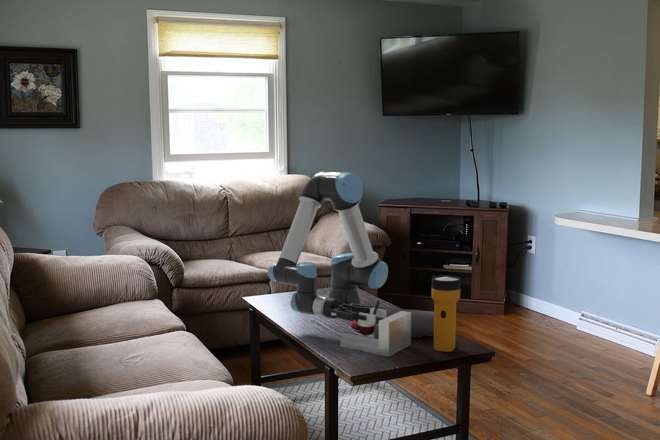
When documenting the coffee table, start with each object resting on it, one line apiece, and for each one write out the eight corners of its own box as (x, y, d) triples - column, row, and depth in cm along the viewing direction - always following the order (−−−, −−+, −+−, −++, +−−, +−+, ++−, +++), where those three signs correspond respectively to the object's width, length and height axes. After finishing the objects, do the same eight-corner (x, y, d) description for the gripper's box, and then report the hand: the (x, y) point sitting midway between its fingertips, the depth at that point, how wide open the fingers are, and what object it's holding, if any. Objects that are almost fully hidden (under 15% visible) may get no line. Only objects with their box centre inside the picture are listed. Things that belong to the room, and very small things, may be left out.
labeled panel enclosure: (363, 335, 258) (363, 304, 257) (410, 344, 247) (411, 312, 245) (340, 346, 245) (340, 314, 244) (388, 356, 234) (388, 322, 232)
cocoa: (355, 337, 244) (354, 305, 242) (354, 331, 250) (353, 300, 248) (381, 336, 244) (380, 304, 242) (380, 330, 250) (379, 299, 248)
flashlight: (462, 275, 242) (457, 281, 233) (461, 345, 245) (456, 354, 236) (435, 273, 245) (428, 278, 236) (433, 342, 249) (427, 351, 240)
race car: (360, 330, 265) (360, 320, 265) (348, 328, 268) (348, 318, 268) (377, 322, 276) (377, 312, 276) (365, 320, 279) (365, 310, 279)
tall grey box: (379, 338, 247) (380, 322, 246) (387, 339, 245) (387, 323, 244) (374, 341, 244) (374, 324, 243) (381, 342, 242) (381, 326, 241)
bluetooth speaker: (439, 333, 260) (439, 308, 258) (437, 341, 251) (438, 314, 249) (379, 330, 264) (379, 305, 263) (376, 337, 255) (376, 311, 254)
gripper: (342, 311, 265) (394, 320, 252) (312, 323, 249) (366, 333, 236) (342, 292, 264) (394, 300, 251) (312, 303, 248) (366, 312, 235)
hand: (380, 316), depth 244 cm, fingers closed on cocoa, 7 cm apart
